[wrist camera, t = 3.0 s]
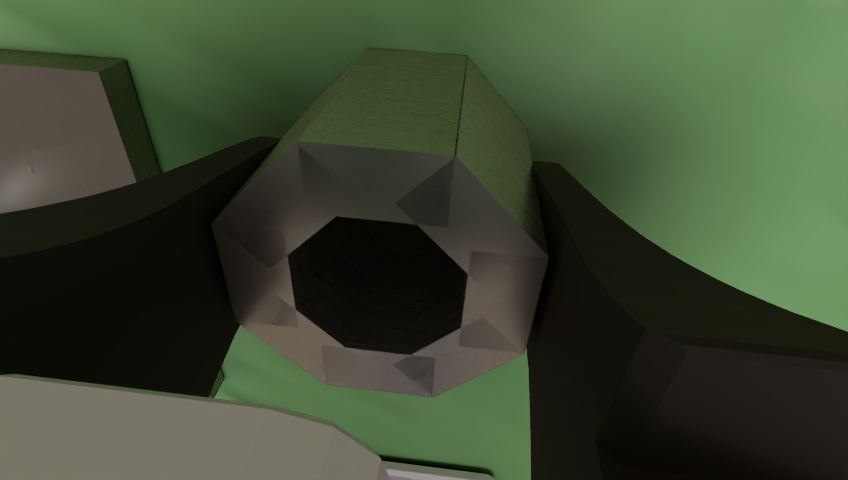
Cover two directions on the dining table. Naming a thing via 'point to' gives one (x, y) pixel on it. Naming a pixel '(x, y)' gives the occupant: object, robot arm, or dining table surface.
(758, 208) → the dining table surface
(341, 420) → the dining table surface
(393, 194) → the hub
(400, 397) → the dining table surface
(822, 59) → the dining table surface
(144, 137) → the shaft block
